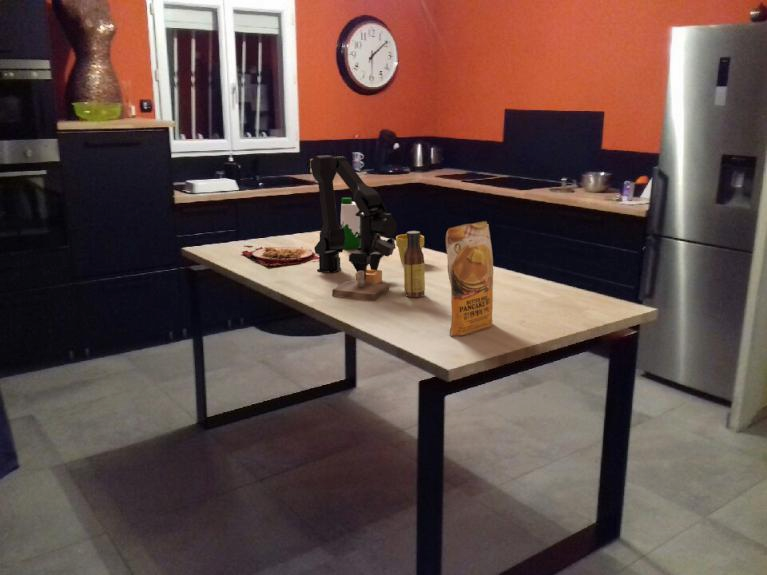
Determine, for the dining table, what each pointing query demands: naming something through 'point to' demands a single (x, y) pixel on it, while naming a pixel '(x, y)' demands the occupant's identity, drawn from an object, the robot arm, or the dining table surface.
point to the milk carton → (350, 223)
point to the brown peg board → (360, 289)
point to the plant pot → (405, 244)
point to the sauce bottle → (414, 266)
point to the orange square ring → (372, 276)
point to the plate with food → (281, 255)
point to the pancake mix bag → (470, 277)
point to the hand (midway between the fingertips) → (368, 278)
